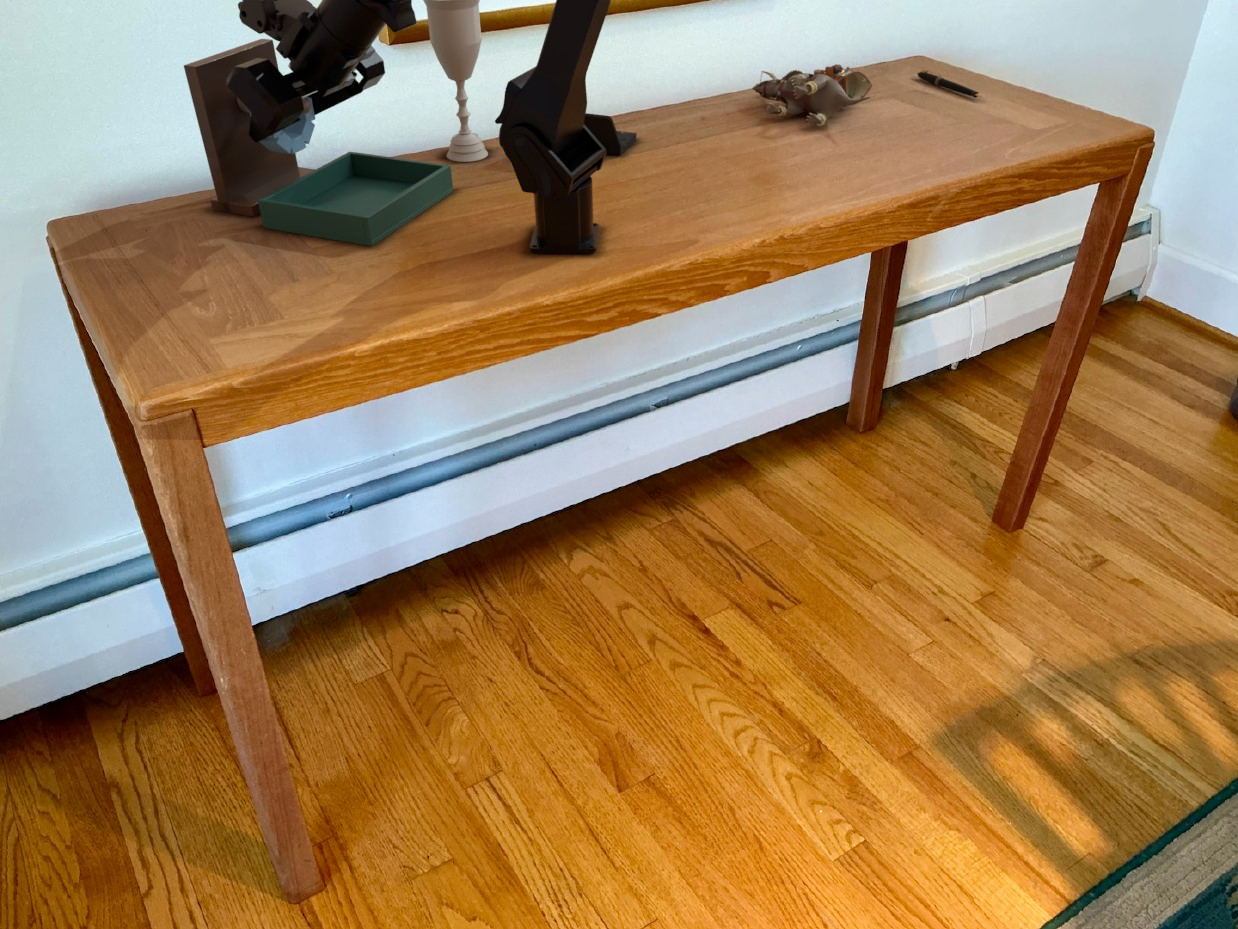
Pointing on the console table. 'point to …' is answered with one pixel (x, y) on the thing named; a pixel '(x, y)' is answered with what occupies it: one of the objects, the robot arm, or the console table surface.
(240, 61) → the hook rack
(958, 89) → the fountain pen
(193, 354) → the console table surface
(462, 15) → the chalice
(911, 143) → the console table surface
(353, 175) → the tray
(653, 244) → the console table surface
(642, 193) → the console table surface
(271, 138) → the blue segmented ring
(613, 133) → the bookend
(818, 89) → the figurine
